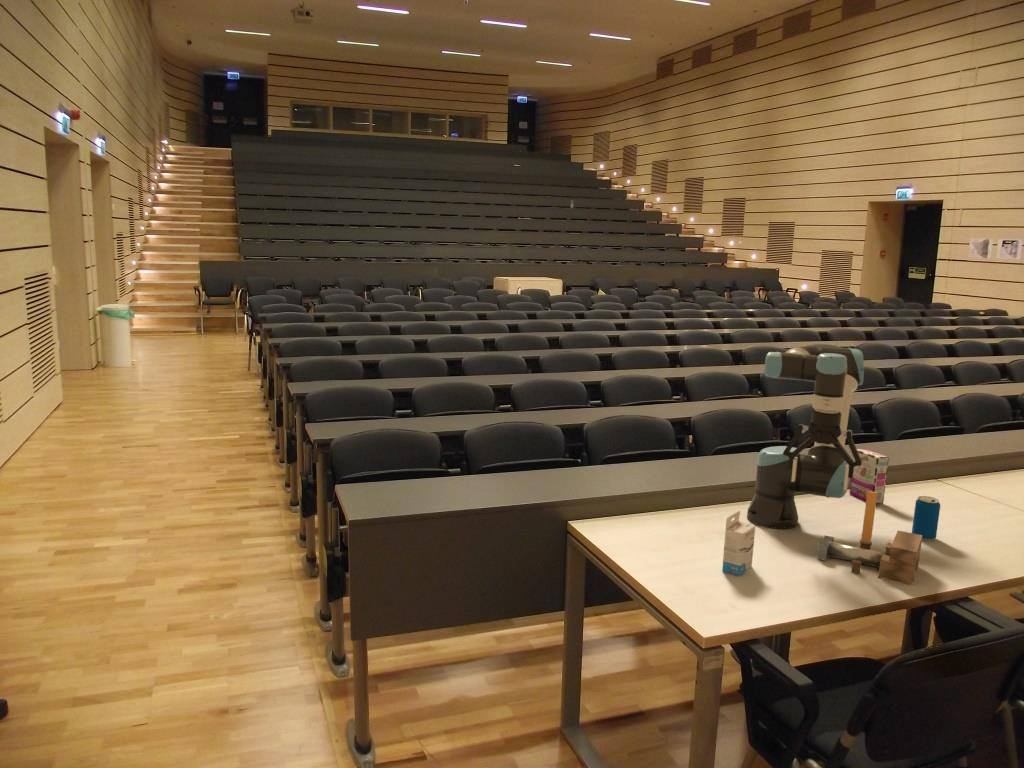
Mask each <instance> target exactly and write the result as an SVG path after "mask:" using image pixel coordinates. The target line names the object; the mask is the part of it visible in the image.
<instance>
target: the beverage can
mask: <svg viewBox="0 0 1024 768" xmlns="http://www.w3.org/2000/svg"><path fill="white" fill-rule="evenodd" d="M914 504H915V505H914V512H913V520H912V528H911V533H913V534H918V535H922V541H924V542H925V541H927V542H928V541H929V542H931V541H933V540H935V539H936V538H937V535H938V534H937V533H938V528H939V527H938V525H939V517H940V511H941V503H940V499H938V498H936V497H932V496H926V495H921V496H918V497H917V499H916V500H915V503H914Z"/></svg>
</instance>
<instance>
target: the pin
mask: <svg viewBox="0 0 1024 768" xmlns="http://www.w3.org/2000/svg"><path fill="white" fill-rule="evenodd" d="M834 539H835V537H834V536H831V535H830V536H829V535H824V536H823V537H822V538H821V540H820V542H819V543H818V545H817V554H816V559H817V560H823V561H827V560H828V557H831V558H832V557H833V558H837V559H841V560H846V561H849V562H850V561H851V562H852V561H853V560H858V561H861V565H862V564H863V565H868V566H871V567H876V568H880V560H881V557H882V555H883V554H884V555H888V556H890V554H886V553H885V552H880V551H877V550H872V549H870V550H868V549H863V548H860V546H859V547H858V546H853V545H849V544H844V543H840V542H835V541H834Z"/></svg>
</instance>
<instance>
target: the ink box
mask: <svg viewBox="0 0 1024 768" xmlns="http://www.w3.org/2000/svg"><path fill="white" fill-rule="evenodd" d="M740 514H741V511H740V510H738V511H736V512H734V513H733V514H731V515H729V516H728V517H727V518H726V522H725V532H724V533H725V534H724V543H723V544H724V546H723V554H722V555H723V557H722V567H721V568H722V569H721V570H722V572H723V573H726V574H727V573H728V574H731V575H734V576H737V577H740V576H741V575H742V574H744V573H745V572H747V571H748V570H749V569H750V568H752V567H753V556H754V543H755V535H756V534H755V533H756V524H752V523H748V522H744V521H740V516H741V515H740ZM733 518H734V519H733Z"/></svg>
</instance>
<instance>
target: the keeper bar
mask: <svg viewBox="0 0 1024 768" xmlns="http://www.w3.org/2000/svg"><path fill="white" fill-rule="evenodd" d="M876 499H877V492H871V491H868V492H867V499H866V502H865V509H864V515H863V516H864V517H863V523H862V531H861V539H859V544H860V545H861V544H866V545H870V546H871V547H872V545H873V542H872V537H873V528H874V522H875V514H876V506H877V504H876Z"/></svg>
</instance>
